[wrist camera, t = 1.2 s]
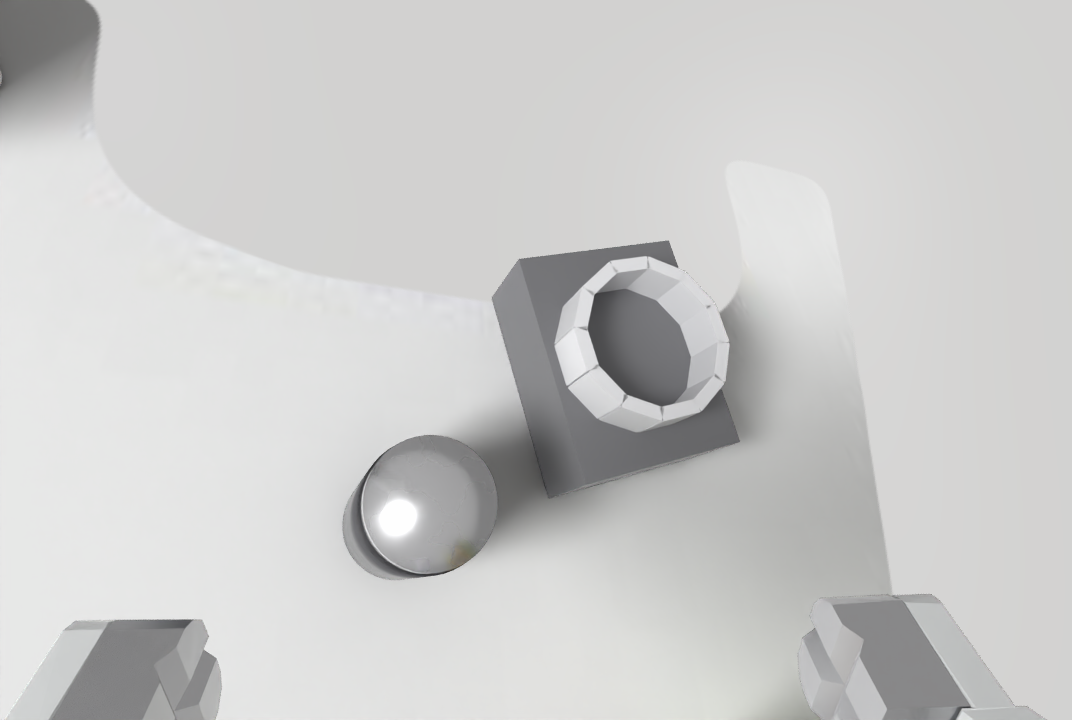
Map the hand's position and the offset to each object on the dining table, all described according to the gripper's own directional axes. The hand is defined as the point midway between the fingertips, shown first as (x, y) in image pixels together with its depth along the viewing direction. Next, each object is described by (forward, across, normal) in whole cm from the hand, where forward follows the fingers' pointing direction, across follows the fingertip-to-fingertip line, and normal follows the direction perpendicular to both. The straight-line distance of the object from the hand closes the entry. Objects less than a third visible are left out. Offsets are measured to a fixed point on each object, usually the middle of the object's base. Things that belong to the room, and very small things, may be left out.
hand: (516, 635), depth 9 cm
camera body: (+34, -6, +17) cm, 38 cm away
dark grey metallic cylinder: (+24, +6, +21) cm, 32 cm away
